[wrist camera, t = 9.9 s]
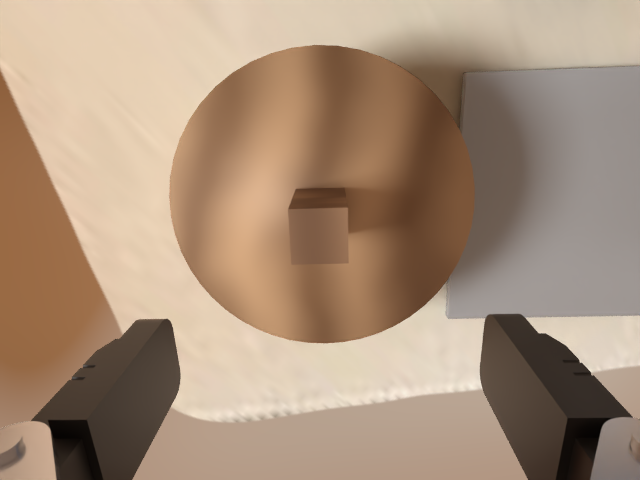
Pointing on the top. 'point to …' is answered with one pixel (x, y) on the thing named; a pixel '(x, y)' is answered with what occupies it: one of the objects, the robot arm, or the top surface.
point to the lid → (322, 194)
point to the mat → (551, 194)
